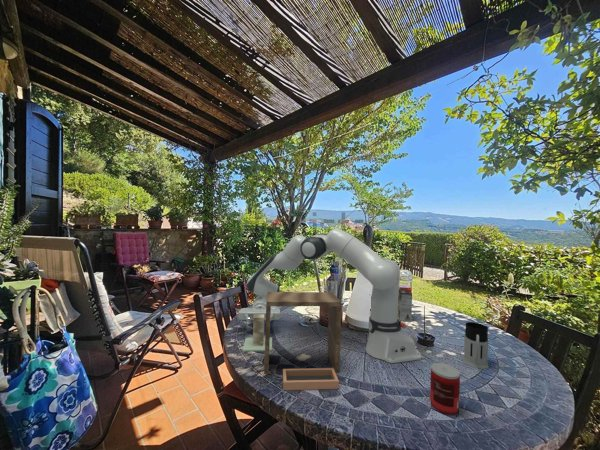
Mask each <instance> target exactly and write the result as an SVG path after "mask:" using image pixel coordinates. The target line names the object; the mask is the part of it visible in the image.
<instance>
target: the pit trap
mask: <svg viewBox="0 0 600 450" xmlns="http://www.w3.org/2000/svg"><path fill="white" fill-rule="evenodd" d="M282 387H283V388H282V390H283V391H305V390H306V391H309V390H310V391H311V390H339V387H340V380H339V378H338V376H337V373H335V370H334V368H333V367H325V368H324V367H321V368H319V367H316V368H315V367H314V368H312V367H311V368H282Z"/></svg>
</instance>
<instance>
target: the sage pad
mask: <svg viewBox="0 0 600 450" xmlns="http://www.w3.org/2000/svg"><path fill="white" fill-rule="evenodd" d="M272 351H273V338H272V337H270V345H269V352H272ZM242 352H265V337H264V342H263V346H253V337H245V339H244V343H243V346H242Z"/></svg>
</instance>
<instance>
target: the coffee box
mask: <svg viewBox="0 0 600 450" xmlns="http://www.w3.org/2000/svg"><path fill="white" fill-rule="evenodd" d="M412 308H413V294H412V291H411V290H408V289H407V290H406V289H399V295H398V314H397V318H398V320H399V321H401V322H405V323H406V322H407V323H412V310H413V309H412Z"/></svg>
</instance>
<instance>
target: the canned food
mask: <svg viewBox="0 0 600 450" xmlns="http://www.w3.org/2000/svg"><path fill="white" fill-rule="evenodd" d="M430 365H431V366H430V384H429V385H430V386H429V389H430V390H429V392H430V393H429V401H430V403H431V405H432V407H433V408H434V409H435V410H437V411H438V412H441V413H442V414H445V415H455V414H457V413H458V412H459V410H460V409H459V408H460V391H461V390H460V386H461V382H460V381H461V373H460V371H459V370H458V369H457V368H456V367H453V366H452V365H449V364H447V363H442V362H434V363H432V364H430Z"/></svg>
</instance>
